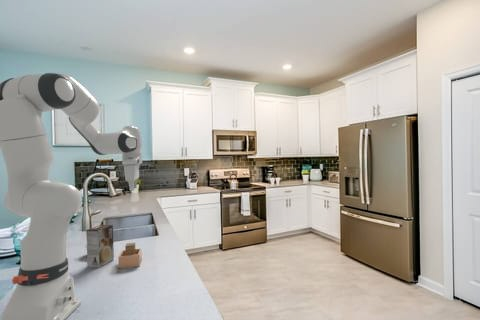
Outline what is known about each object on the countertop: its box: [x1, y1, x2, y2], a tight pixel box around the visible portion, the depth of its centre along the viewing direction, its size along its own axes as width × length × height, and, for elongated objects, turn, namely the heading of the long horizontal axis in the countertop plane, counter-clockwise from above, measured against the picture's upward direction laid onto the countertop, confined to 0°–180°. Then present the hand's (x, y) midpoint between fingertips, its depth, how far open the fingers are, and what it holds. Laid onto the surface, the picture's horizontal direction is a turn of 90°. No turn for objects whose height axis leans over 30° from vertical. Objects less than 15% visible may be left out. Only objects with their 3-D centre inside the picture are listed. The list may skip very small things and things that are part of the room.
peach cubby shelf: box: [118, 248, 143, 269], centre depth 113 cm, size 8×8×5 cm
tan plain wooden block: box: [124, 242, 136, 256], centre depth 113 cm, size 4×4×8 cm
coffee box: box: [85, 224, 115, 268], centre depth 114 cm, size 9×6×16 cm
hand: (133, 189), depth 124 cm, fingers open, 8 cm apart
